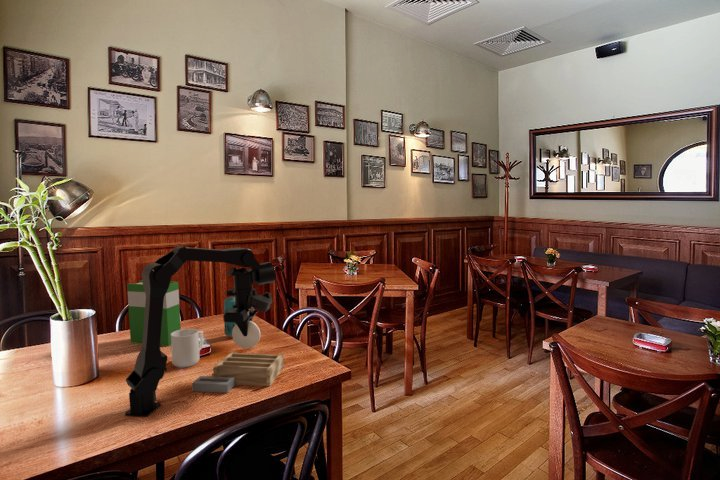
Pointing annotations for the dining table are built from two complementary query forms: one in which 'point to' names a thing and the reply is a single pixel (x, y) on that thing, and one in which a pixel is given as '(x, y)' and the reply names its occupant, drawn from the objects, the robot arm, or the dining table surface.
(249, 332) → the plate
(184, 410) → the dining table surface
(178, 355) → the mug
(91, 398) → the dining table surface
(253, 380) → the rack
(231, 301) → the beverage bottle
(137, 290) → the green cereal box
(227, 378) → the stand
